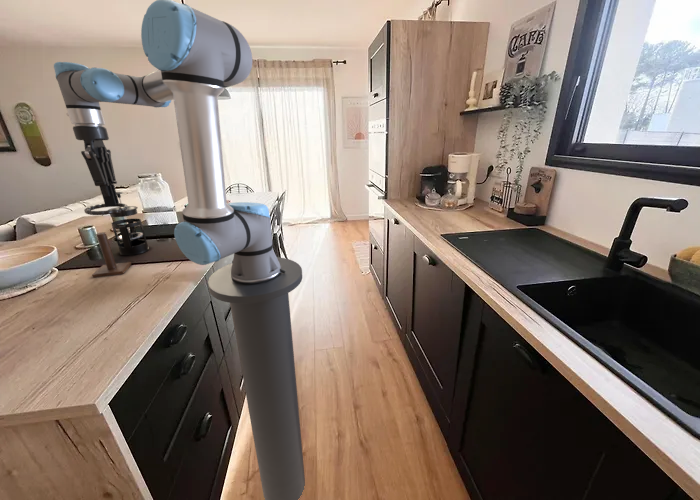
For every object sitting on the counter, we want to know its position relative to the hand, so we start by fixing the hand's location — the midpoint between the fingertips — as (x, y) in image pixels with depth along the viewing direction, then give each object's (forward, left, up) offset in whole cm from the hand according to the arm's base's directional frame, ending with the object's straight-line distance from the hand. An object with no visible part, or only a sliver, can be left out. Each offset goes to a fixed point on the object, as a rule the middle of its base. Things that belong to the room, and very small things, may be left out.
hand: (112, 205), depth 92 cm
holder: (+4, +4, -21) cm, 22 cm away
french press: (+3, -14, -21) cm, 26 cm away
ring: (0, +4, 0) cm, 5 cm away
